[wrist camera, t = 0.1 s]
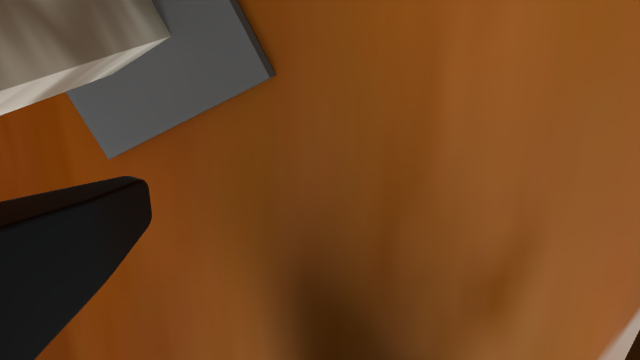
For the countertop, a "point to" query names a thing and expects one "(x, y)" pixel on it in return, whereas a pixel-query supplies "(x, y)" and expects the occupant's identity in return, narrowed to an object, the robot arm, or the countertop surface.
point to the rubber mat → (175, 75)
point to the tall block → (69, 44)
